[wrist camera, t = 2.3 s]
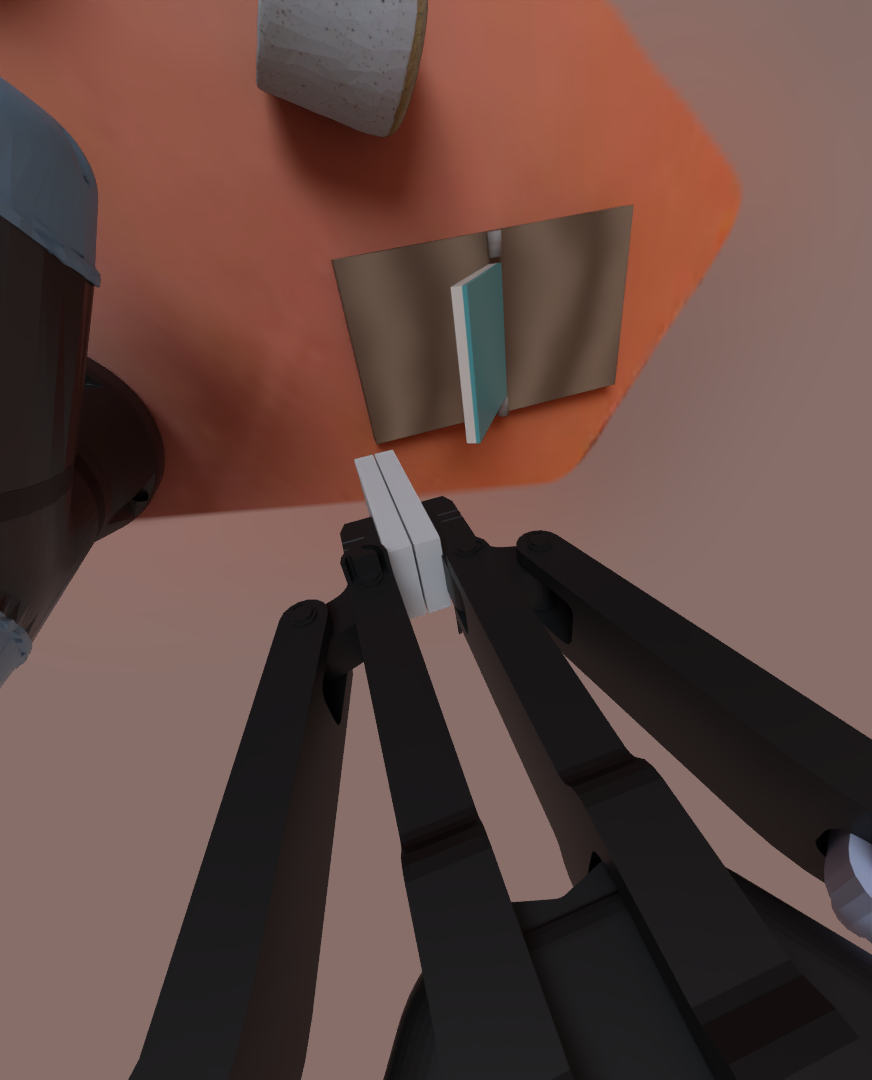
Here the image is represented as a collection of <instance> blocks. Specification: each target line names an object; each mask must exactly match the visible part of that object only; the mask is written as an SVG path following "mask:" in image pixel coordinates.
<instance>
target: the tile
mask: <svg viewBox="0 0 872 1080" xmlns="http://www.w3.org/2000/svg"><path fill="white" fill-rule="evenodd" d="M451 296H452V305H453V315H454V324H455V334H456V343H457V353H458V362H459V372H460V382H461V391H462V401H463V410H464V420H465V429H466V439H467V443H481V441H482V439H483V438H484V436H485V434H486V432H487V430H488V428H489V426H490V425H491V423H492V421H493V419H494V417H495V415H496V414H497V412H498V410H499V408H500V406H501V404H502V403H503V401H504V399H505V397H506V395H507V381H506V357H505V334H504V311H503V287H502V264H501V263H494V264H488V265H486V266H485V267H483V268H481V269H480V270H478V271H476V272H475V273H473V274H472V275H470V276H468V277H467V278H465V279H463V280H462V281H460V282H458V283H457V284H455V285H453V286H452V287H451Z"/></svg>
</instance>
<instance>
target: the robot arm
mask: <svg viewBox="0 0 872 1080" xmlns="http://www.w3.org/2000/svg"><path fill="white" fill-rule="evenodd" d="M97 214H98V189H97V183H96V179H95V176H94V173H93V171H92V168H91V166H90V164H89V162H88V160H87V158H86V156H85V155H84V153H83V152H82V150H81V149H80V147H79V146H78V144H77V143H76V142H75V140H74V139H73V138H72V137H71V135H70V134H69V133H68V132H67V131H66V130H65V129H64V128H63V127H62V126H61V125H60V124H59V123H58V122H57V121H56V120H55V119H54V118H53V117H52V116H51V115H49V114H48V113H47V112H46V111H45V110H43V109H42V108H41V107H40V106H38V105H37V104H36V103H35V102H33V101H32V100H31V99H29V98H28V97H27V96H25V95H24V94H23V93H21V92H20V91H19V90H17V89H16V88H15V87H13V86H12V85H11V84H9V83H8V82H7V81H5V80H4V79H3V78H1V77H0V688H1V686H2V685H3V684H4V682H5V681H6V680H7V678H8V677H9V676H10V674H11V673H12V672H13V671H14V670H15V669H16V668H18V667H19V665H21V664H23V663H24V662H25V661H26V660H27V657H28V655H29V654H30V652H31V649H32V642H33V641H34V639H35V637H36V636H37V634H38V632H39V631H40V629H41V628H42V626H43V624H44V623H45V621H46V620H47V618H48V616H49V615H50V613H51V612H52V610H53V608H54V607H55V605H56V603H57V602H58V600H59V599H60V597H61V595H62V594H63V592H64V590H65V589H66V587H67V585H68V584H69V582H70V581H71V579H72V578H73V576H74V574H75V573H76V571H77V570H78V568H79V566H80V565H81V563H82V562H83V560H84V558H85V557H86V555H87V553H88V552H89V550H90V548H91V547H92V545H93V543H94V542H96V541H97V540H100V539H101V538H103V537H105V536H107V535H109V534H111V533H113V532H115V531H116V530H118V529H120V528H122V527H124V526H126V525H127V524H129V523H130V522H131V521H133V520H134V519H135V518H136V517H137V516H139V515H140V514H141V513H142V512H143V510H144V509H145V508H146V507H147V506H148V504H149V503H150V501H151V500H152V498H153V496H154V494H155V492H156V490H157V488H158V486H159V484H160V482H161V479H162V475H163V471H164V460H165V458H164V448H163V443H162V439H161V436H160V433H159V430H158V428H157V425H156V423H155V421H154V419H153V418H152V416H151V414H150V413H149V411H148V410H147V408H146V407H145V405H144V404H143V403H142V401H141V400H140V399H139V398H138V397H137V395H136V394H135V393H134V392H133V391H132V390H131V389H130V388H129V387H128V386H127V385H126V384H125V383H124V382H123V381H121V380H120V379H119V378H118V377H117V376H115V375H114V374H113V373H112V372H110V371H109V370H108V369H106V368H105V367H103V366H102V365H100V364H99V363H97V362H95V361H94V360H92V359H90V358H88V357H87V351H88V342H89V332H90V323H91V313H92V304H93V294H94V286H96V287H100V283H101V277H100V274H99V272H98V271H97V270H96V268H95V257H96V234H97ZM374 455H375V459H376V461H375V459H374V457H373V455H369V456H365V457H362V458H358V459H354V461H355V465H356V468H357V472H358V475H359V479H360V483H361V486H362V490H363V493H364V497H365V501H366V504H367V507H368V511H369V515H370V517H369V518H365V519H361V520H358V521H355V522H350V523H347V524H344V526H343V528H342V531H341V533H340V535H341V541H342V546H343V550H344V554H343V556H342V557H341V562H340V563H341V567H342V569H343V572H344V575H345V578H346V581H347V583H348V585H347V587H346V589H345V590H344V592H342V594H341V595H339V596H338V597H337V598H335V599H334V600H332V601H330V602H328V603H327V604H324V602H322V601H319V600H305V601H302V602H298V603H296V604H295V605H293V606H291V607H290V608H289V609H288V610H286V611H285V612H284V613H283V615H282V617H281V619H280V620H279V623H278V627H277V630H276V633H275V636H274V639H273V642H272V646H271V648H270V652H269V655H268V658H267V661H266V664H265V667H264V670H263V674H262V677H261V680H260V683H259V686H258V689H257V692H256V696H255V699H254V702H253V705H252V708H251V711H250V714H249V718H248V721H247V724H246V727H245V730H244V733H243V736H242V739H241V743H240V746H239V749H238V752H237V755H236V758H235V761H234V764H233V767H232V770H231V774H230V777H229V780H228V783H227V786H226V789H225V793H224V795H223V799H222V802H221V805H220V808H219V811H218V814H217V818H216V821H215V824H214V827H213V830H212V833H211V836H210V839H209V842H208V846H207V849H206V852H205V855H204V858H203V861H202V864H201V867H200V871H199V874H198V877H197V880H196V883H195V887H194V889H193V892H192V896H191V899H190V903H189V905H188V909H187V912H186V914H185V917H184V921H183V924H182V927H181V930H180V934H179V936H178V939H177V943H176V946H175V949H174V952H173V955H172V958H171V961H170V964H169V968H168V971H167V974H166V977H165V980H164V983H163V987H162V989H161V993H160V996H159V999H158V1002H157V1005H156V1008H155V1011H154V1014H153V1018H152V1021H151V1024H150V1027H149V1030H148V1033H147V1036H146V1039H145V1043H144V1046H143V1049H142V1052H141V1055H140V1059H139V1060H138V1062H137V1064H136V1066H135V1068H134V1070H133V1072H132V1074H131V1076H130V1077H129V1080H301V1077H302V1072H303V1068H304V1063H305V1058H306V1052H307V1046H308V1039H309V1032H310V1026H311V1020H312V1013H313V1004H314V996H315V988H316V979H317V971H318V963H319V954H320V946H321V937H322V929H323V920H324V912H325V904H326V896H327V887H328V879H329V871H330V862H331V853H332V845H333V837H334V828H335V819H336V812H337V803H338V795H339V786H340V778H341V770H342V761H343V753H344V744H345V736H346V728H347V719H348V711H349V703H350V694H351V686H352V677H353V671H352V669H353V668H355V667H357V666H358V665H360V664H361V663H363V662H364V665H365V670H366V675H367V680H368V685H369V689H370V694H371V699H372V704H373V709H374V713H375V719H376V723H377V729H378V734H379V738H380V743H381V748H382V753H383V758H384V763H385V767H386V772H387V777H388V782H389V787H390V792H391V797H392V802H393V807H394V812H395V816H396V821H397V826H398V831H399V836H400V842H401V849H402V851H401V862H402V870H403V876H404V881H405V887H406V891H407V897H408V902H409V907H410V912H411V917H412V922H413V927H414V932H415V937H416V942H417V947H418V952H419V957H420V962H421V967H422V973H421V975H420V976H419V978H418V980H417V982H416V983H415V985H414V987H413V990H412V991H411V993H410V995H409V998H408V1000H407V1003H406V1006H405V1008H404V1011H403V1013H402V1016H401V1019H400V1022H399V1026H398V1029H397V1033H396V1036H395V1040H394V1043H393V1047H392V1051H391V1054H390V1058H389V1061H388V1065H387V1069H386V1072H385V1076H384V1079H383V1080H872V955H871V954H869V953H868V952H866V951H865V950H863V949H861V948H859V947H858V946H856V945H855V944H853V943H851V942H850V941H848V940H846V939H845V938H843V937H841V936H840V935H838V934H836V933H835V932H833V931H831V930H830V929H828V928H826V927H825V926H823V925H822V924H820V923H818V922H816V921H815V920H813V919H811V918H810V917H808V916H806V915H805V914H803V913H802V912H800V911H798V910H797V909H795V908H793V907H792V906H790V905H788V904H787V903H785V902H783V901H782V900H780V899H778V898H776V897H775V896H773V895H772V894H770V893H768V892H767V891H765V890H763V889H762V888H760V887H758V886H757V885H755V884H753V883H752V882H750V881H748V880H747V879H745V878H743V877H742V876H740V875H738V874H737V873H735V872H733V871H732V870H730V869H728V868H726V867H725V866H724V865H723V863H722V862H721V860H720V859H719V858H718V856H717V855H716V853H715V852H714V851H713V849H712V848H711V846H710V845H709V843H708V842H707V840H706V839H705V838H704V836H703V835H702V833H701V832H700V831H699V829H698V828H697V826H696V825H695V823H694V822H693V821H692V819H691V818H690V816H689V815H688V814H687V812H686V811H685V809H684V808H683V807H682V805H681V804H680V802H679V801H678V799H677V798H676V796H675V795H674V794H673V792H672V791H671V789H670V788H669V787H668V785H667V784H666V782H665V781H664V779H663V778H662V777H661V776H660V774H659V773H658V772H657V771H656V769H655V768H654V767H653V766H652V765H651V764H649V763H648V762H647V761H646V760H645V759H641V758H637V757H634V756H633V755H632V754H630V752H629V751H628V750H627V749H626V747H625V746H624V744H623V743H622V741H621V740H620V739H619V737H618V736H617V734H616V733H615V731H614V730H613V728H612V727H611V726H610V724H609V722H608V721H607V719H606V718H605V716H604V715H603V713H602V712H601V711H600V709H599V707H598V706H597V704H596V703H595V701H594V700H593V699H592V697H591V695H590V694H589V692H588V691H587V689H586V688H585V687H584V685H583V684H582V682H581V681H580V679H579V678H578V676H577V675H576V674H575V672H574V670H573V669H572V667H571V666H570V664H569V663H568V661H567V660H566V658H565V657H564V655H565V656H566V657H567V658H568V659H569V660H570V661H572V662H573V663H574V664H575V665H576V666H577V667H578V668H579V669H580V670H581V671H582V672H583V673H584V674H585V675H587V676H588V677H589V678H590V679H591V680H592V681H593V682H594V683H595V684H596V685H598V687H600V688H601V689H602V690H603V691H604V692H605V693H606V694H607V695H608V696H609V697H610V698H612V700H614V701H615V702H616V703H617V704H618V705H619V706H620V707H621V708H622V709H623V710H625V712H627V713H628V714H629V715H630V716H631V717H632V718H633V719H634V720H635V721H636V722H637V723H638V724H640V725H641V726H642V727H643V728H644V729H645V730H646V731H647V732H648V733H649V734H650V735H652V737H654V738H655V739H656V740H657V741H658V742H659V743H660V744H661V745H662V746H663V747H664V748H665V749H666V750H668V751H669V752H670V753H671V754H672V755H673V756H674V757H675V758H676V759H677V760H678V761H680V762H681V763H682V764H683V765H684V766H685V767H686V768H687V769H688V770H689V771H690V772H691V773H692V774H694V775H695V776H696V777H697V778H698V779H699V780H700V781H701V782H702V783H703V784H704V785H705V786H707V787H708V788H709V789H710V790H711V791H712V792H713V793H714V794H715V795H716V796H717V797H718V798H719V799H721V800H722V801H723V802H724V803H725V804H726V805H727V806H728V807H729V808H730V809H731V810H732V811H734V812H735V813H736V814H737V815H738V816H739V817H740V818H741V819H742V820H743V821H744V822H745V823H746V824H748V825H749V826H750V827H751V828H753V830H755V831H756V832H757V833H758V834H759V835H760V836H762V837H763V838H764V839H765V840H766V841H768V842H769V843H770V844H771V845H772V846H773V847H775V848H776V849H777V850H779V851H780V852H781V853H783V854H784V855H785V856H787V857H788V858H789V859H791V860H792V861H793V862H795V863H796V864H797V865H799V866H800V867H801V868H803V869H804V870H806V871H807V872H809V873H810V874H812V875H813V876H815V877H816V878H818V879H819V880H821V881H823V882H824V883H825V885H826V888H827V890H828V893H829V896H830V898H831V903H832V909H833V911H834V913H835V914H836V916H837V918H838V920H839V921H840V922H841V923H842V924H843V925H844V926H845V927H846V928H847V929H848V930H850V931H851V932H853V933H854V934H856V935H857V936H859V937H863V938H866V939H867V940H868V941H870V942H871V943H872V739H870V738H868V737H867V736H865V735H864V734H862V733H861V732H859V731H858V730H856V729H855V728H853V727H852V726H850V725H848V724H847V723H845V722H844V721H842V720H841V719H839V718H838V717H836V716H835V715H833V714H832V713H830V712H828V711H827V710H825V709H824V708H822V707H821V706H819V705H818V704H816V703H815V702H813V701H812V700H810V699H809V698H807V697H805V696H804V695H802V694H801V693H799V692H798V691H796V690H795V689H793V688H792V687H790V686H788V685H787V684H785V683H784V682H782V681H781V680H779V679H778V678H776V677H775V676H773V675H772V674H770V673H769V672H767V671H765V670H764V669H762V668H761V667H759V666H758V665H756V664H755V663H753V662H752V661H750V660H748V659H747V658H745V657H744V656H742V655H741V654H739V653H738V652H736V651H734V650H733V649H732V648H730V647H728V646H727V645H725V644H724V643H722V642H721V641H719V640H718V639H716V638H715V637H713V636H712V635H710V634H709V633H707V632H705V631H704V630H702V629H701V628H699V627H698V626H696V625H694V624H693V623H692V622H690V621H689V620H687V619H685V618H684V617H682V616H681V615H679V614H678V613H676V612H675V611H673V610H671V609H670V608H669V607H667V606H665V605H664V604H662V603H661V602H659V601H658V600H656V599H655V598H653V597H652V596H650V595H649V594H647V593H645V592H644V591H642V590H641V589H639V588H638V587H636V586H635V585H633V584H632V583H630V582H629V581H627V580H625V579H624V578H622V577H621V576H619V575H618V574H616V573H615V572H613V571H612V570H610V569H609V568H607V567H605V566H604V565H602V564H601V563H599V562H598V561H596V560H595V559H593V558H592V557H590V556H588V555H587V554H585V553H584V552H582V551H581V550H579V549H578V548H576V547H575V546H573V545H572V544H570V543H568V542H567V541H565V540H564V539H562V538H561V537H559V536H558V535H556V534H554V533H551V532H548V531H542V530H540V531H531V532H528V533H525V534H523V535H522V536H521V537H519V539H518V541H517V543H516V545H517V546H513V547H491V546H490V545H489V544H488V543H487V542H486V541H485V540H484V539H481V538H479V537H476V536H475V535H474V534H473V532H472V530H471V529H470V527H469V526H468V524H467V523H466V521H465V520H464V518H463V517H462V516H461V514H460V512H459V511H458V510H457V508H456V506H455V505H454V503H453V502H452V501H451V500H449V499H447V498H445V497H443V496H441V497H437V498H433V499H430V500H426V501H423V502H420V500H419V498H418V496H417V494H416V492H415V490H414V489H413V487H412V485H411V483H410V481H409V479H408V477H407V475H406V474H405V472H404V470H403V468H402V466H401V464H400V462H399V461H398V459H397V457H396V455H395V453H394V451H393V450H389V451H385V452H381V453H377V454H374ZM376 463H377V464H376ZM450 597H451V599H452V602H453V604H454V607H455V613H456V619H457V625H458V631H459V634H461V633H462V631H463V633H464V636H465V638H466V640H467V642H468V644H469V646H470V649H471V651H472V653H473V655H474V658H475V660H476V662H477V664H478V666H479V668H480V671H481V673H482V675H483V677H484V680H485V682H486V684H487V686H488V688H489V690H490V693H491V695H492V697H493V699H494V701H495V704H496V706H497V708H498V710H499V712H500V714H501V717H502V719H503V721H504V723H505V726H506V728H507V730H508V732H509V734H510V737H511V739H512V741H513V743H514V745H515V748H516V750H517V752H518V754H519V756H520V759H521V761H522V763H523V765H524V767H525V770H526V772H527V774H528V776H529V778H530V781H531V783H532V785H533V787H534V789H535V792H536V794H537V796H538V798H539V800H540V802H541V804H542V807H543V809H544V811H545V814H546V816H547V818H548V820H549V822H550V825H551V827H552V829H553V831H554V833H555V836H556V838H557V841H558V844H559V846H560V850H561V853H562V857H563V860H564V864H565V866H566V870H567V872H568V875H569V878H570V880H571V882H572V885H573V888H572V889H571V890H570V891H569V892H568V893H567V894H566V895H565V896H563V897H561V898H558V899H550V900H537V901H524V902H511V901H510V898H509V895H508V892H507V889H506V887H505V884H504V881H503V878H502V875H501V872H500V869H499V867H498V864H497V861H496V858H495V855H494V853H493V850H492V847H491V844H490V842H489V839H488V836H487V833H486V831H485V829H484V826H483V824H482V822H481V820H480V818H479V816H478V813H477V811H476V808H475V805H474V802H473V799H472V797H471V794H470V791H469V788H468V785H467V782H466V779H465V777H464V774H463V771H462V768H461V766H460V762H459V760H458V757H457V754H456V751H455V748H454V745H453V742H452V740H451V737H450V734H449V731H448V728H447V725H446V722H445V719H444V717H443V714H442V711H441V708H440V705H439V703H438V699H437V697H436V694H435V691H434V688H433V685H432V682H431V680H430V676H429V674H428V671H427V668H426V665H425V662H424V659H423V656H422V654H421V651H420V648H419V645H418V642H417V639H416V636H415V634H414V631H413V628H412V625H411V622H410V619H411V618H415V617H418V616H421V615H424V614H427V613H426V609H425V605H426V608H427V610H428V612H429V613H430V612H434V611H437V610H440V609H443V608H446V607H449V606H451V601H450ZM424 603H425V604H424ZM562 653H563V654H564V655H563V654H562Z"/></svg>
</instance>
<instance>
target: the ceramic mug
mask: <svg viewBox="0 0 872 1080" xmlns="http://www.w3.org/2000/svg"><path fill="white" fill-rule="evenodd" d="M427 13H428V0H259V4H258V22H257V62H256V67H257V70H256V83H257V86H258V88H259V89H260V90H262V91H264V92H266V93H269V94H271V95H274V96H276V97H279V98H281V99H284V100H286V101H289V102H291V103H294V104H296V105H298V106H301V107H303V108H305V109H308V110H310V111H312V112H315V113H317V114H319V115H322V116H325V117H328V118H330V119H333V120H335V121H337V122H339V123H342V124H344V125H346V126H349V127H351V128H353V129H355V130H358V131H360V132H363V133H366V134H370V135H375V136H379V137H388V136H390V135H392V134H393V133H394V132H396V131H397V130H398V128H399V127H400V125H401V123H402V121H403V119H404V117H405V114H406V112H407V109H408V106H409V103H410V100H411V96H412V93H413V90H414V86H415V82H416V78H417V74H418V69H419V65H420V60H421V56H422V51H423V45H424V38H425V31H426V22H427Z"/></svg>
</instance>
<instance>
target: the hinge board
mask: <svg viewBox="0 0 872 1080" xmlns="http://www.w3.org/2000/svg"><path fill="white" fill-rule="evenodd" d="M632 215H633V205H629V206H621V207H615V208H610V209H604V210H599V211H593V212H588V213H583V214H577V215H572V216H566V217H561V218H555V219H550V220H545V221H539V222H534V223H528V224H523V225H518V226H512V227H507V228H501V229H496V230H490V231H485V232H480V233H474V234H469V235H463V236H458V237H452V238H447V239H442V240H436V241H431V242H425V243H420V244H415V245H409V246H404V247H398V248H393V249H387V250H382V251H377V252H371V253H366V254H360V255H355V256H349V257H344V258H339V259H333V260H331V261H332V265H333V269H334V273H335V278H336V282H337V286H338V290H339V294H340V298H341V303H342V307H343V311H344V315H345V319H346V323H347V328H348V332H349V336H350V340H351V344H352V348H353V352H354V357H355V361H356V365H357V369H358V373H359V377H360V382H361V386H362V390H363V394H364V398H365V402H366V407H367V411H368V415H369V419H370V423H371V427H372V431H373V436H374V439H375V441H376V443H377V444H380V443H384V442H388V441H392V440H396V439H400V438H404V437H408V436H411V435H415V434H419V433H423V432H427V431H431V430H435V429H439V428H443V427H447V426H451V425H455V424H459V423H463V422H465V420H464V410H463V401H462V391H461V382H460V372H459V362H458V353H457V343H456V334H455V324H454V315H453V305H452V296H451V287H452V286H453V285H455V284H457V283H458V282H460V281H462V280H463V279H465V278H467V277H468V276H470V275H472V274H473V273H475V272H476V271H478V270H480V269H481V268H483V267H485V266H486V265H488V264H494V263H501V264H502V287H503V311H504V334H505V357H506V381H507V395H506V397H505V399H504V401H503V403H502V404H501V406H500V408H499V410H498V412H497V414H498V416H500V417H504V416H507V415H509V411H511V410H514V409H518V408H522V407H526V406H530V405H534V404H538V403H542V402H546V401H550V400H554V399H558V398H562V397H566V396H570V395H574V394H578V393H582V392H586V391H590V390H594V389H598V388H602V387H606V386H610V385H614V384H615V377H616V368H617V358H618V349H619V339H620V330H621V320H622V310H623V301H624V291H625V282H626V272H627V263H628V253H629V243H630V234H631V224H632Z"/></svg>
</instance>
